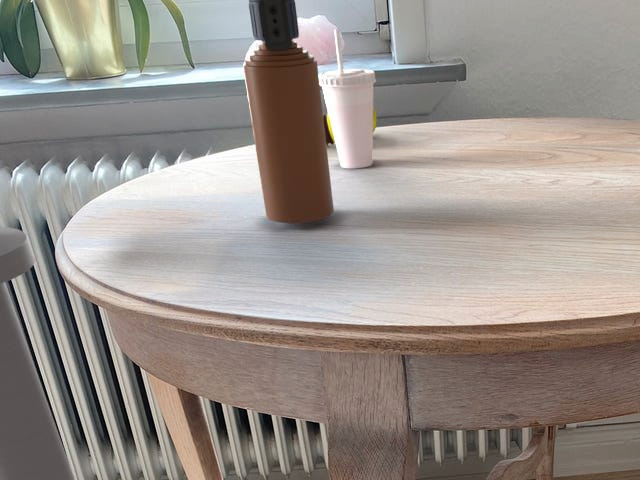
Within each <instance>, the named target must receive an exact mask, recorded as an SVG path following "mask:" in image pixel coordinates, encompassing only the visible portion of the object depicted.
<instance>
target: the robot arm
mask: <svg viewBox="0 0 640 480" xmlns="http://www.w3.org/2000/svg"><path fill="white" fill-rule="evenodd" d="M259 6H260V13H261V20H262V26H263V33H264V39H265V46H266V48H267V49H268V50H270V51H282V50H289V49H290V48H291V46H292V41H294V39H292V40H291V32H290V25H289V18H288V10H287V3H286V0H259Z"/></svg>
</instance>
